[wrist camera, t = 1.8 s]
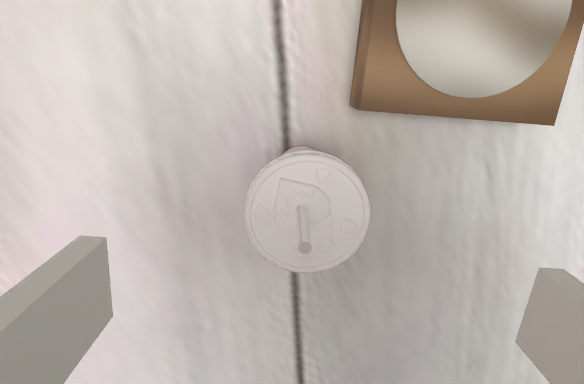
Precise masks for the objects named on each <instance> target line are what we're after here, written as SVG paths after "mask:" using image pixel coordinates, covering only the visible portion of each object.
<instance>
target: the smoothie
mask: <svg viewBox="0 0 584 384" xmlns="http://www.w3.org/2000/svg"><path fill="white" fill-rule="evenodd" d="M244 223H245V228H246V231H247V234H248V237H249V239H250V241H251V243H252V244H253V246H254V248H255V249H256V250H257V251H258V253H259V254H260V255H261V256H262V257H264V258H265V259H266V260H267V261H269V262H270V263H272V264H273V265H275V266H277V267H279V268H282V269H284V270H287V271H291V272H296V273H316V272H321V271H325V270H329V269H331V268H334V267H336V266H338V265H339V264H341V263H343V262H344V261H346V260H347V259H348V258H349V257H351V256H352V255H353V254H354V253H355V252H356V250H357V249H358V248H359V247H360V245H361V244H362V242H363V240H364V238H365V236H366V234H367V231H368V228H369V223H370V203H369V199H368V195H367V193H366V190H365V188H364V186H363V183H362V181H361V179H360V178H359V177H358V175H357V174H356V173H355V172H354V170H353V169H352V168H351V167H350V166H349V165H347V164H346V163H344V162H343V161H342V160H340V159H339V158H337V157H335V156H332V155H329V154H327V153H324V152H320V151H315V150H314V149H312V148H310V147H305V146H297V147H293V148H291V149H289V150H287V151H286V152H285V153H284V154H283V155H282V156H281V157H278V158H276V159H274V160H272V161H271V162H270V163H269V164H267V165H266V166H265V167H264V168H263V169H261V170H260V171H259V173H258V174H257V176H256V177H255V178H254V180H253V181H252V183H251V184H250V187H249V190H248V193H247V196H246V199H245V208H244Z"/></svg>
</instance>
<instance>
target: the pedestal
mask: <svg viewBox="0 0 584 384" xmlns="http://www.w3.org/2000/svg"><path fill="white" fill-rule="evenodd" d="M583 23H584V0H362V8H361V16H360V24H359V32H358V40H357V49H356V57H355V65H354V73H353V81H352V89H351V98H350V106H352V107H354V108H356V109H359V110H365V111H378V112H390V113H403V114H415V115H427V116H440V117H452V118H465V119H477V120H489V121H502V122H514V123H527V124H539V125H551V126H554V124H555V120H556V117H557V113H558V110H559V106H560V103H561V99H562V96H563V92H564V89H565V86H566V82H567V79H568V75H569V72H570V68H571V65H572V61H573V58H574V54H575V51H576V47H577V44H578V40H579V37H580V33H581V30H582V26H583Z"/></svg>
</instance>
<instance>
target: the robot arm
mask: <svg viewBox="0 0 584 384" xmlns="http://www.w3.org/2000/svg"><path fill="white" fill-rule="evenodd" d="M112 317H113V311H112V300H111V288H110V276H109V264H108V252H107V240H106V237H92V236H79V237H78V238H76V239H75V240H74V241H73V242H71V243H70V244H69V245H67V246H66V247H65V248H63V249H62V250H61V251H60V252H58V253H57V254H56V255H54V256H53V257H52V258H50V259H49V260H48V261H47V262H45V263H44V264H43V265H41V266H40V267H39V268H37V269H36V270H35V271H34V272H32V273H31V274H30V275H28V276H27V277H26V278H25V279H23V280H22V281H21V282H19V283H18V284H17V285H15V286H14V287H13V288H12V289H10V290H9V291H8V292H6V293H5V294H4V295H2V296H1V297H0V384H63V383H64V382H65V381H66V379H67V378H68V377H69V375H70V374H71V373H72V371H73V370H74V368H75V367H76V366H77V364H78V363H79V362H80V360H81V359H82V358H83V356H84V355H85V353H86V352H87V351H88V349H89V348H90V347H91V345H92V344H93V343H94V341H95V340H96V338H97V337H98V336H99V334H100V333H101V332H102V330H103V329H104V328H105V326H106V325H107V323H108V322H109V321H110V319H111V318H112ZM515 342H516V343H517V344H518V346H519V347H520V348H521V349H522V350H523V351H524V353H525V354H526V355H527V356H528V357H529V359H530V360H531V361H532V362H533V363H534V365H535V366H536V367H537V368H538V369H539V371H540V372H541V373H542V374H543V375H544V376H545V378H546V379H547V380H548V381H549V382H550V384H584V284H583V283H582V282H581V281H579V280H578V279H576V278H575V277H574V276H572V275H571V274H569V273H568V272H567V271H565V270H564V269H552V268H539V270H538V273H537V276H536V279H535V282H534V285H533V288H532V291H531V294H530V298H529V301H528V304H527V307H526V310H525V313H524V316H523V319H522V322H521V326H520V329H519V332H518V335H517V338H516V341H515Z"/></svg>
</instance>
